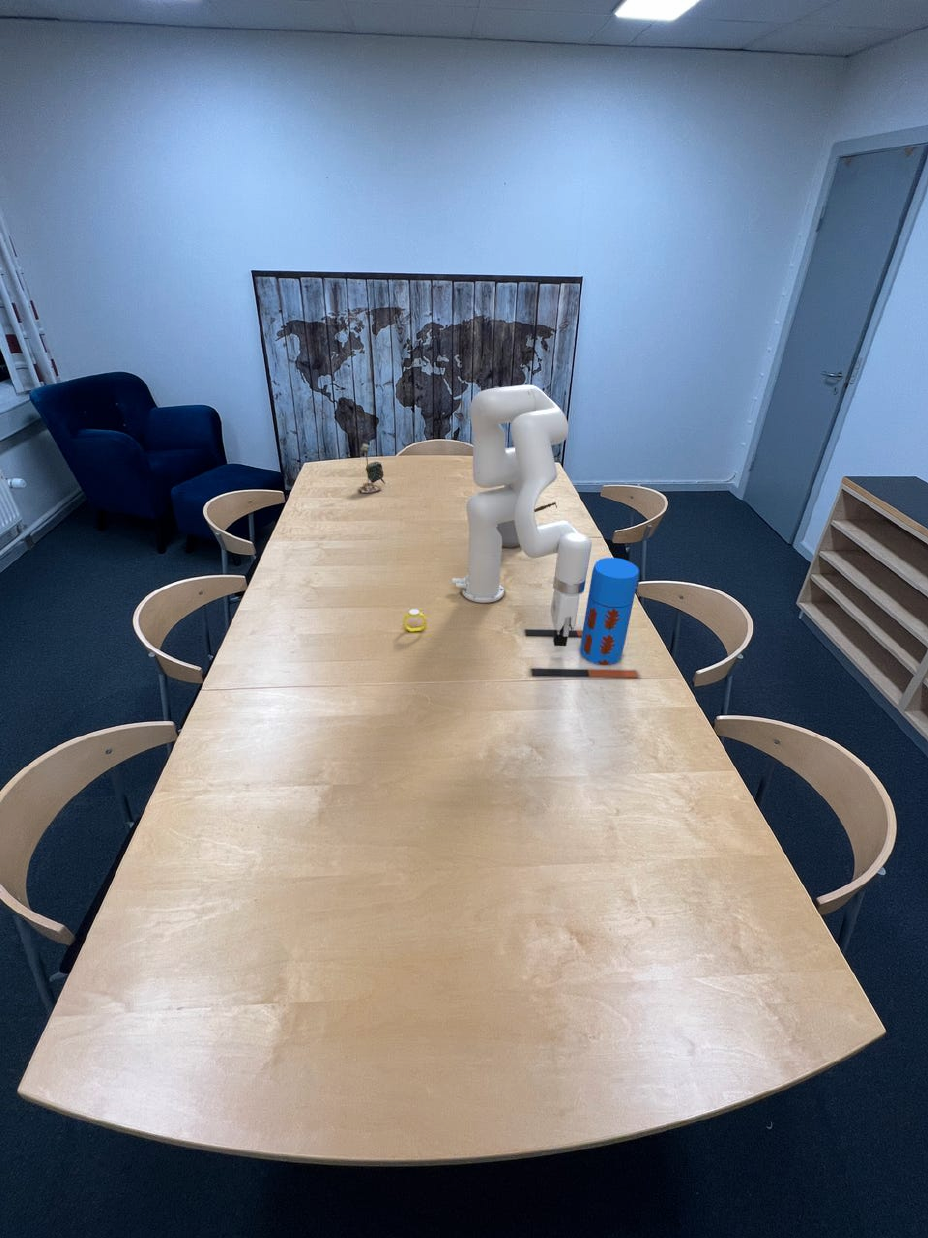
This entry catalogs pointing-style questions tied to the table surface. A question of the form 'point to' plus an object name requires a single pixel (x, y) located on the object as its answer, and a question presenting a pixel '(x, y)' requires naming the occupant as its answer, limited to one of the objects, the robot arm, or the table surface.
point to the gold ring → (414, 613)
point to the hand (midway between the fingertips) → (559, 644)
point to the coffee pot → (513, 530)
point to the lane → (572, 671)
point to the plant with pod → (371, 473)
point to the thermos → (608, 610)
